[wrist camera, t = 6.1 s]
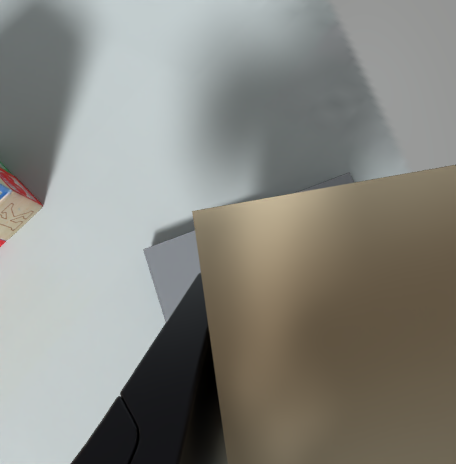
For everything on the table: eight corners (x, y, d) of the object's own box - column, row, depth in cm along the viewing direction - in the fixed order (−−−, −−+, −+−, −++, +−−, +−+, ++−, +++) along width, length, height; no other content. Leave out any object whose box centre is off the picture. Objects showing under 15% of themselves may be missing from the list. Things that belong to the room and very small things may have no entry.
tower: (357, 366, 15) (610, 501, 4) (251, 383, 15) (240, 551, 4) (332, 262, 16) (487, 158, 5) (234, 278, 16) (192, 211, 5)
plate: (443, 390, 18) (457, 396, 17) (219, 475, 18) (217, 486, 17) (344, 180, 21) (349, 172, 19) (149, 252, 20) (143, 249, 19)
